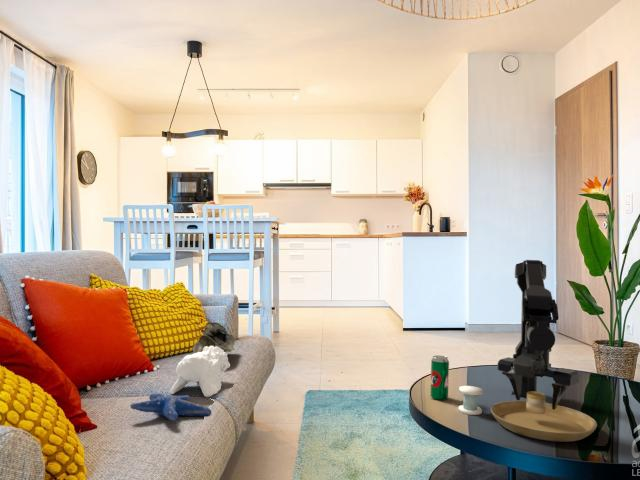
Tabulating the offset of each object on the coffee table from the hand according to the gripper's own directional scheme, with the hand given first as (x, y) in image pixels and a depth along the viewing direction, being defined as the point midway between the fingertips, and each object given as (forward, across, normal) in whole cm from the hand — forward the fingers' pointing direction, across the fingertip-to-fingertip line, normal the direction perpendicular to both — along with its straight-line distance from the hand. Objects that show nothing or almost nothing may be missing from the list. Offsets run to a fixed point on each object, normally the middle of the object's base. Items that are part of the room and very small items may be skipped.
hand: (535, 404), depth 127 cm
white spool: (+5, -15, -6) cm, 17 cm away
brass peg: (+2, 0, 0) cm, 2 cm away
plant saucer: (+5, +2, -1) cm, 6 cm away
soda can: (+5, -27, -3) cm, 28 cm away
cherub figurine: (+5, -76, -53) cm, 93 cm away
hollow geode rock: (+5, -106, -31) cm, 111 cm away
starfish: (+5, -59, -70) cm, 92 cm away
